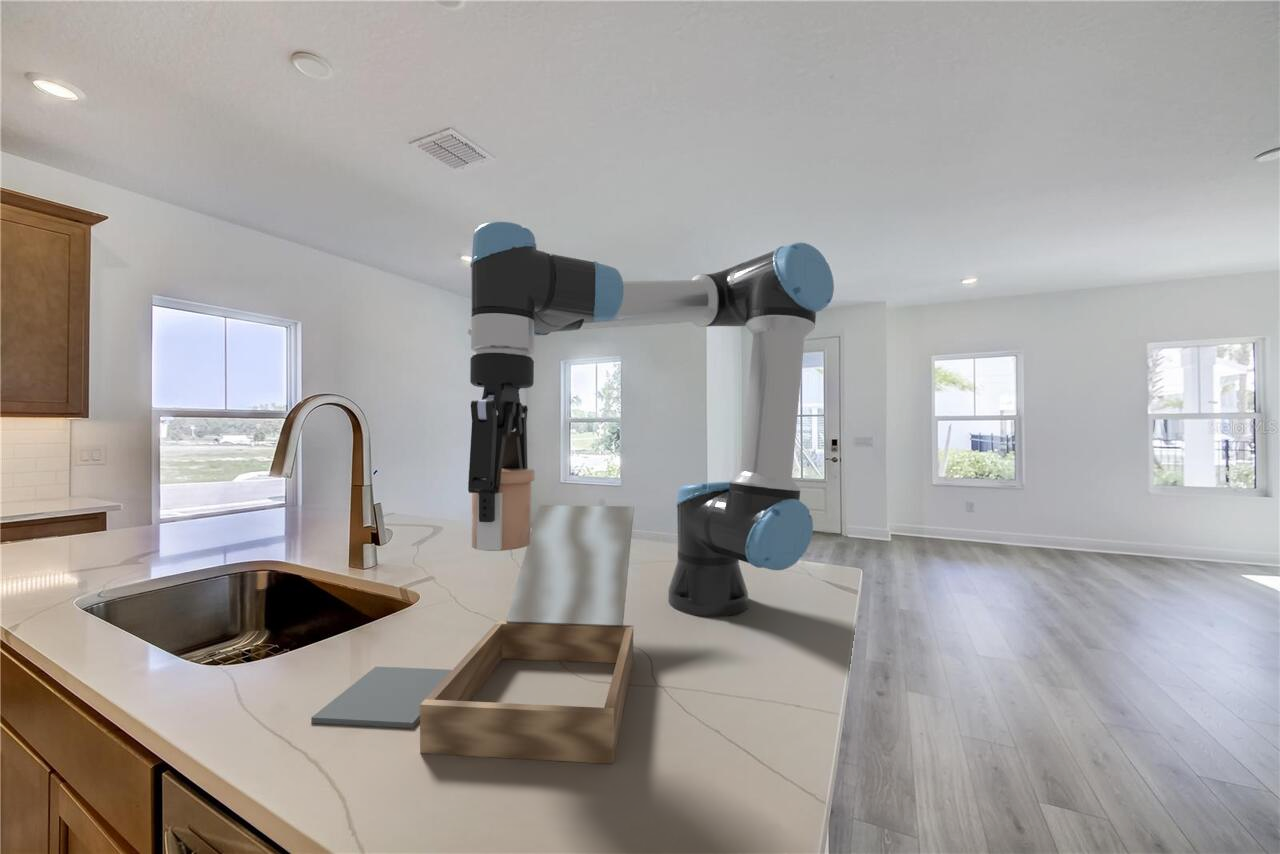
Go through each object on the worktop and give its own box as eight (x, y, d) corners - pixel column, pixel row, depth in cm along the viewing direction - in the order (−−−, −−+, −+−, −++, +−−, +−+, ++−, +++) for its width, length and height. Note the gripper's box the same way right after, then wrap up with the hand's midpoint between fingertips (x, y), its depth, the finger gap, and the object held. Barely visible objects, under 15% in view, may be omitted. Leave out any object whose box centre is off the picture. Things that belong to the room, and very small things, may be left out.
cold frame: (642, 616, 88) (642, 506, 88) (612, 763, 50) (612, 569, 50) (531, 612, 90) (531, 504, 90) (420, 753, 51) (419, 564, 51)
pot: (541, 537, 65) (541, 468, 65) (523, 552, 57) (524, 474, 57) (482, 536, 66) (483, 467, 66) (457, 550, 58) (457, 473, 58)
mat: (460, 674, 68) (460, 670, 68) (412, 728, 56) (412, 722, 56) (375, 670, 69) (375, 666, 69) (311, 722, 57) (311, 717, 57)
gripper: (500, 365, 72) (498, 525, 72) (434, 340, 52) (432, 562, 52) (552, 365, 71) (550, 526, 71) (505, 340, 51) (503, 564, 51)
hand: (500, 541), depth 61 cm, fingers closed on pot, 7 cm apart
